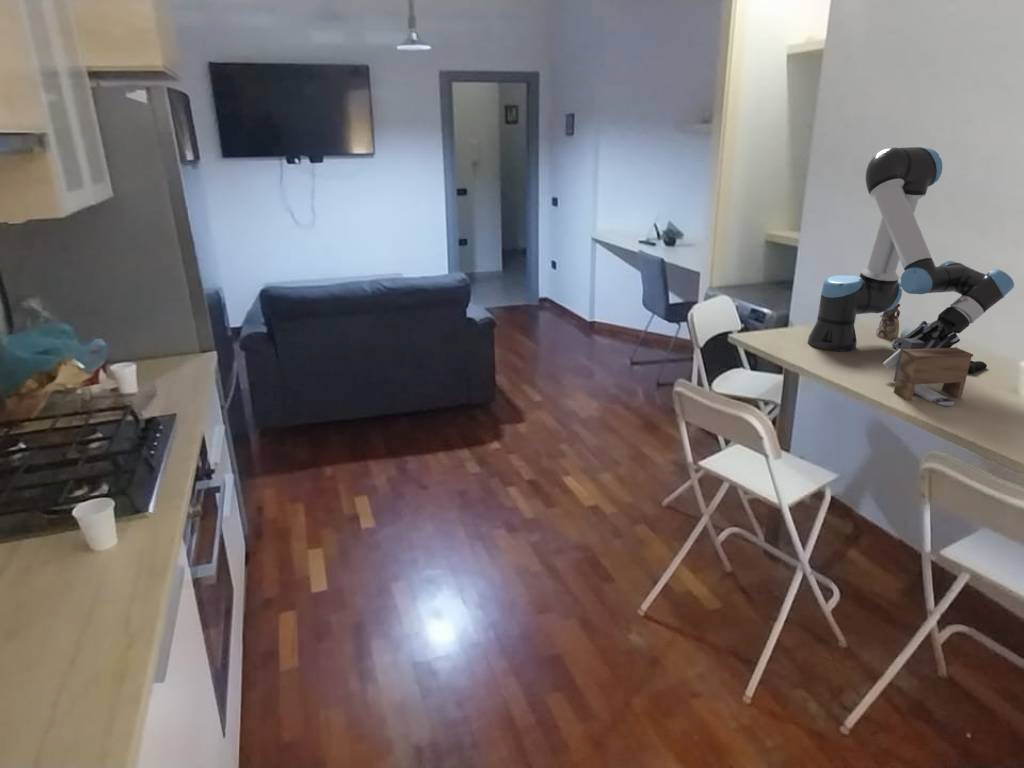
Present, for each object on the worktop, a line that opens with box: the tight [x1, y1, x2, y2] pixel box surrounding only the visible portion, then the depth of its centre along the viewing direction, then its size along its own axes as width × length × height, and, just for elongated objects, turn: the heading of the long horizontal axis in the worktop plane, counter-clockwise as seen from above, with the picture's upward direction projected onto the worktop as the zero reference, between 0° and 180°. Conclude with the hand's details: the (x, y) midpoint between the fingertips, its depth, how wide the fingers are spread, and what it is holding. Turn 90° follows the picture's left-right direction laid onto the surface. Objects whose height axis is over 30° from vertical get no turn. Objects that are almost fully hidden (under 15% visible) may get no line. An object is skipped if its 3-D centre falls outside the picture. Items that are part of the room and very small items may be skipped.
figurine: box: [875, 302, 901, 340], centre depth 241 cm, size 7×7×12 cm
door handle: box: [967, 360, 987, 375], centre depth 216 cm, size 3×20×16 cm
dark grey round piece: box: [934, 398, 955, 408], centre depth 182 cm, size 4×4×1 cm
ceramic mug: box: [891, 325, 932, 349], centre depth 229 cm, size 11×8×8 cm
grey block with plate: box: [893, 338, 948, 402], centre depth 190 cm, size 16×5×13 cm, turn 7°
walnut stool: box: [893, 347, 974, 401], centre depth 187 cm, size 6×16×13 cm, turn 97°
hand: (893, 370), depth 196 cm, fingers open, 6 cm apart
